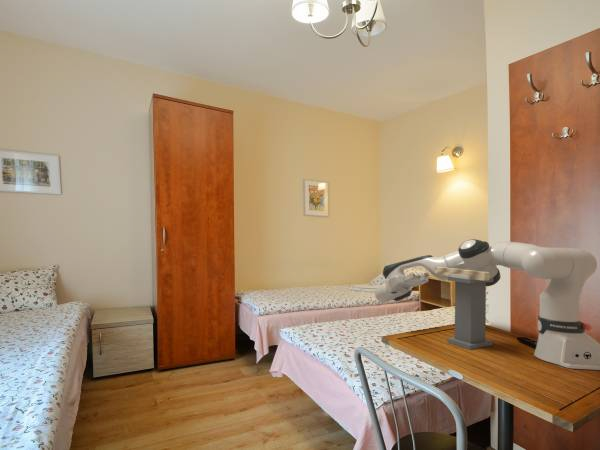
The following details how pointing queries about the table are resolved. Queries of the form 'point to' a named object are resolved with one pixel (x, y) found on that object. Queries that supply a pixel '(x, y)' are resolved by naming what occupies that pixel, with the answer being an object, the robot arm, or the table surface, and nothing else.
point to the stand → (469, 312)
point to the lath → (463, 273)
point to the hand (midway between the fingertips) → (421, 274)
